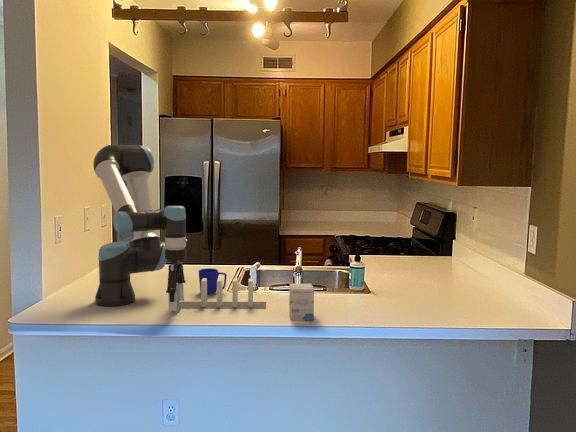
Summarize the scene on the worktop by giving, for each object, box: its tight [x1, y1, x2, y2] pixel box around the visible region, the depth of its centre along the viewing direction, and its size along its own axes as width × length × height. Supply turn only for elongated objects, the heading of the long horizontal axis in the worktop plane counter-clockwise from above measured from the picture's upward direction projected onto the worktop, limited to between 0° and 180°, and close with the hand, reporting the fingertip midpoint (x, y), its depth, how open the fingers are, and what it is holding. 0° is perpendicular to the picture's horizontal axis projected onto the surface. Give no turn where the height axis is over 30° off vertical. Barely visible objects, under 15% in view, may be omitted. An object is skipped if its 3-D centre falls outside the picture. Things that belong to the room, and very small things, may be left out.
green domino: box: [172, 285, 181, 315], centre depth 191 cm, size 2×5×10 cm, turn 1°
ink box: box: [288, 283, 315, 322], centre depth 187 cm, size 8×8×12 cm
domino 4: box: [247, 278, 254, 307], centre depth 200 cm, size 2×5×10 cm, turn 1°
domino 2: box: [216, 277, 223, 307], centre depth 200 cm, size 2×5×10 cm, turn 1°
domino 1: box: [200, 278, 208, 307], centre depth 200 cm, size 2×5×10 cm, turn 1°
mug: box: [198, 267, 228, 295], centre depth 219 cm, size 8×12×10 cm
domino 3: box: [232, 278, 239, 307], centre depth 200 cm, size 2×5×10 cm, turn 1°
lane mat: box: [180, 301, 267, 310], centre depth 200 cm, size 34×10×1 cm, turn 91°
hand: (176, 305), depth 191 cm, fingers open, 13 cm apart
